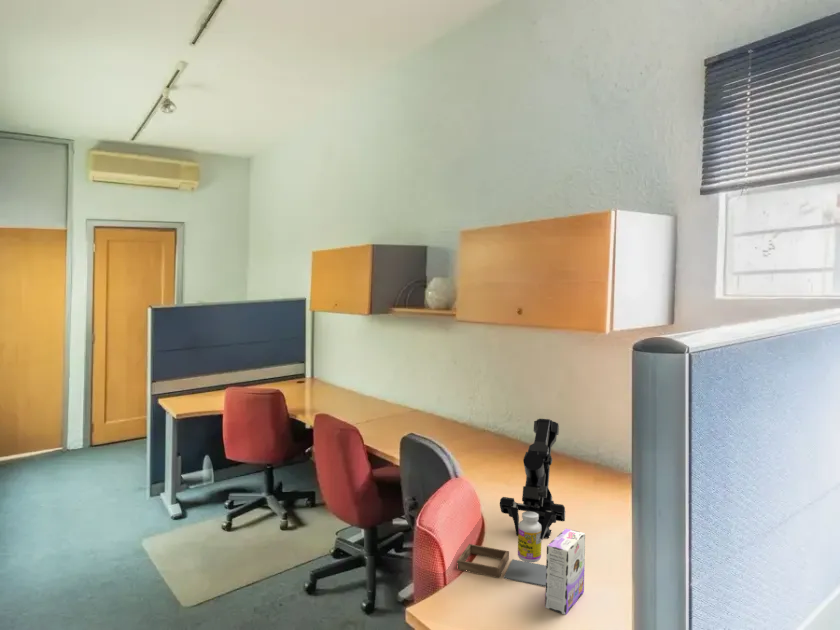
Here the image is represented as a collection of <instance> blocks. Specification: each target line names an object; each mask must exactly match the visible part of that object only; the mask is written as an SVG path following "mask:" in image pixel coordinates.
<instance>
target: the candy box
mask: <svg viewBox="0 0 840 630" xmlns="http://www.w3.org/2000/svg"><path fill="white" fill-rule="evenodd" d="M585 551H586V533H585V532H581V531H577V530H573V529H570V528H564V529H562V531H561V532H560V533H559V534H558V535H557V536H556V537H555V538H554V539H553V540H551V541H550V542H549V543H548V544H546V558H545V559H546V563H545V565H546V587H545V594H544V595H545V596H544V598H545V599H544V601H545V602H544V607H545V609H548V610H551V611H554V612H556V613H559V614H560V615H561V614H562V615H564V616H565V615H568V613H569V611H570V610H571V609H572V608H573V606H574V605H575V604H576V603H577V602H578V600H579V599H580V597H581V596H582V595H583V593H585V565H586V564H585V563H586V559H585V553H586V552H585Z"/></svg>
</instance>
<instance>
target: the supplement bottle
mask: <svg viewBox="0 0 840 630" xmlns="http://www.w3.org/2000/svg"><path fill="white" fill-rule="evenodd" d="M521 518H522V520H521V521H519V525H518V536H517V557H518V558H519V560H520V561H525V562H530V563H538V562H539V561H540V560H541V557H542V540H541V532H542V526H541V524H540V523H539V522H538V519H539V515H538V514H537V513H536V512H532V511H523V512H522V513H521Z"/></svg>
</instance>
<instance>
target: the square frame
mask: <svg viewBox="0 0 840 630" xmlns="http://www.w3.org/2000/svg"><path fill="white" fill-rule="evenodd" d="M471 554H472V555H476V556H477V555H478V556H483V557H488V558H494V559H498V560H500V562H499V564H498V566H491V565H487V564H486V565H485V564H482V563H477V562H472V561H467V559H468V558H469V556H471ZM509 560H510V551H508V550H506V549H505V550H504V549H498V548H494V547H488V546H482V545H476V544H472V543H469V544H468V545H467V546H466V548H465V549H464V550H463V552H462V553H461V555H460V556H459V558H458V559H457V561H456V564H457V563H458V569H459V570H458V571H463V572H467V571H470V572H469V573H472V572H473V574H477V573H478V574H479V575H482V576H483V575H484V576H488V577H492V578H493V577H494V578H498V579H500V577H501V575H503V572H504V571H505V568H506V566H507V564H508V562H509ZM466 570H467V571H466Z"/></svg>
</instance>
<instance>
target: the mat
mask: <svg viewBox="0 0 840 630" xmlns="http://www.w3.org/2000/svg"><path fill="white" fill-rule="evenodd" d="M503 579H506V580H510V581H515V582H520V583H525V584H530V585H533V586H540V587H544V588H546V564H545V565H544V564H541V563H540V564H539V563H536V562H525V561H523V560H520V559H519V560H518V559H512V560H511V562H510V563H509V566H508V567H507V570H506V572H505V573H504V575H503Z"/></svg>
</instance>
